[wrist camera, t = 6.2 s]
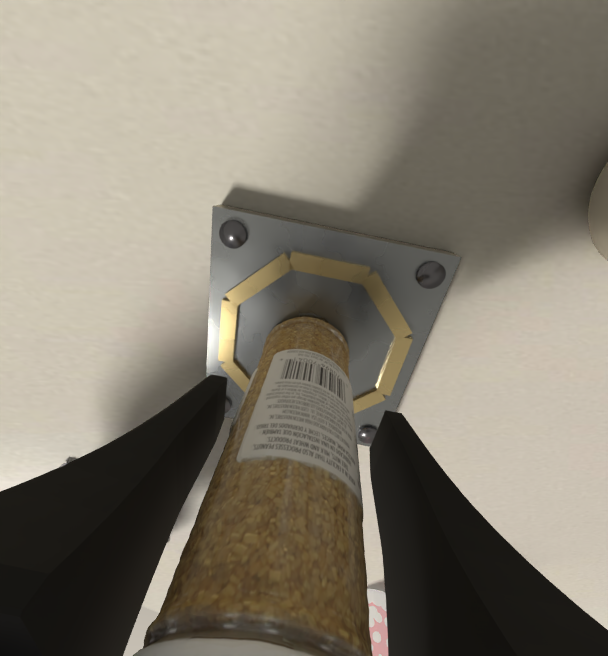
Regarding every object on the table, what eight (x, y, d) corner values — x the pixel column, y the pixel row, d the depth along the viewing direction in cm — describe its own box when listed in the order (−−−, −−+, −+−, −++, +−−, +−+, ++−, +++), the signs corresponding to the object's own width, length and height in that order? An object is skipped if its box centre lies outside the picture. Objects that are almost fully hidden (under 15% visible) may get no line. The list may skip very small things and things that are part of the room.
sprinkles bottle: (248, 355, 16) (-14, 886, 4) (300, 295, 14) (108, 941, 2) (313, 400, 17) (263, 938, 5) (369, 349, 15) (511, 1006, 3)
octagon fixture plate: (364, 466, 20) (366, 482, 19) (209, 434, 20) (202, 448, 19) (452, 252, 14) (463, 258, 12) (220, 204, 14) (211, 206, 12)
